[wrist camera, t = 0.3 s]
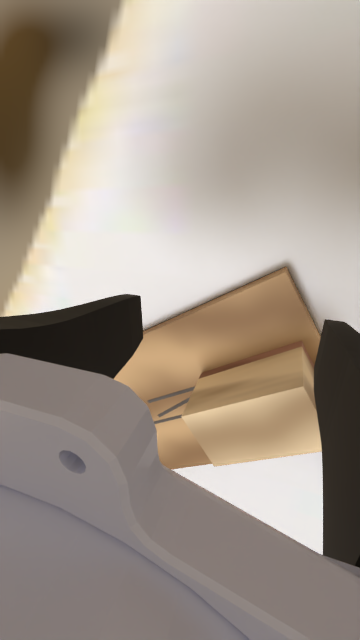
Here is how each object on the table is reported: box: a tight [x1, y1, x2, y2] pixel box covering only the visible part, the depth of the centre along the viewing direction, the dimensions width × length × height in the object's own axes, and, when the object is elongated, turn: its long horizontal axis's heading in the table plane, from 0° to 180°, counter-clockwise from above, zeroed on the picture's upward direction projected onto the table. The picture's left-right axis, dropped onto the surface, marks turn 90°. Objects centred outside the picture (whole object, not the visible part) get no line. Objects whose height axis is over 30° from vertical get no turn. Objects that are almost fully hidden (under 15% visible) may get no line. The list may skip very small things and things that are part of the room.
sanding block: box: [181, 341, 322, 466], centre depth 20 cm, size 4×8×5 cm, turn 122°
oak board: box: [114, 267, 321, 469], centre depth 26 cm, size 14×22×1 cm, turn 122°
